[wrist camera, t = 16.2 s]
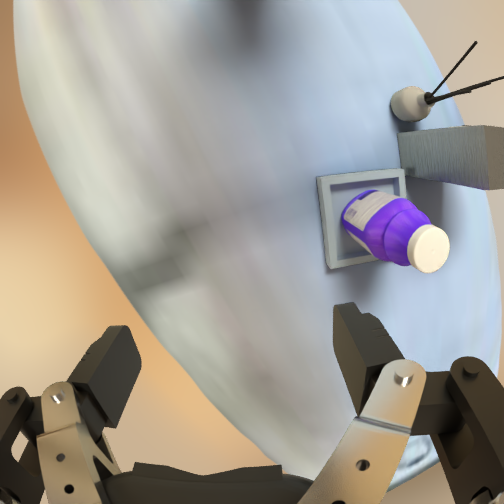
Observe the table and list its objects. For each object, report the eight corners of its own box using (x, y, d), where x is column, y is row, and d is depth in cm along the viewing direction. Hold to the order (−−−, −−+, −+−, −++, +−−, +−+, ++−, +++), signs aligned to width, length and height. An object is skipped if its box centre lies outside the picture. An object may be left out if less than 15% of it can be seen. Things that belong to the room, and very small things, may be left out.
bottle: (353, 245, 39) (416, 300, 22) (330, 213, 38) (389, 253, 21) (391, 213, 38) (470, 248, 21) (370, 180, 36) (448, 198, 20)
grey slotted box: (396, 131, 35) (483, 122, 18) (438, 131, 35) (525, 128, 17) (402, 180, 37) (489, 199, 20) (443, 177, 37) (529, 194, 20)
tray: (316, 176, 37) (320, 177, 34) (395, 168, 36) (403, 169, 34) (326, 262, 40) (330, 269, 38) (400, 248, 40) (407, 253, 38)
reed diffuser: (386, 132, 35) (485, 121, 16) (364, 88, 33) (450, 44, 14) (434, 111, 34) (532, 98, 15) (414, 70, 32) (504, 35, 13)
